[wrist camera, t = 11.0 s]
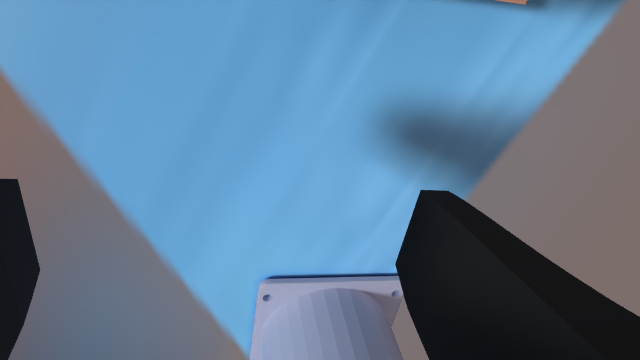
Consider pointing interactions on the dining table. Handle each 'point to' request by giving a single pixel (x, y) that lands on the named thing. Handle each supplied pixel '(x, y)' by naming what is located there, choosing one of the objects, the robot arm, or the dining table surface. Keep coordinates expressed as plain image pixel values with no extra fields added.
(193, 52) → the dining table surface
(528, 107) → the dining table surface
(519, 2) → the terracotta base
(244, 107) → the dining table surface
